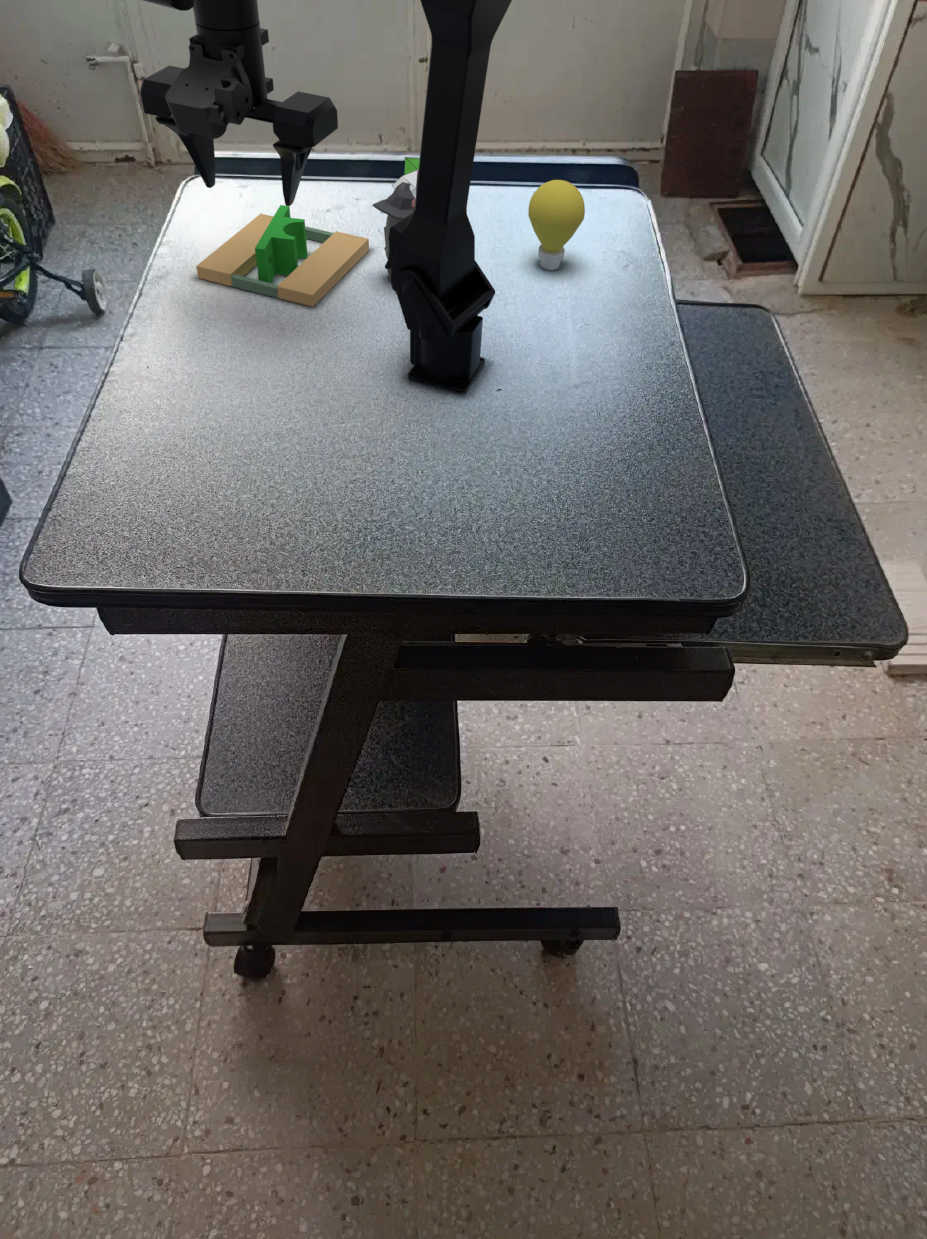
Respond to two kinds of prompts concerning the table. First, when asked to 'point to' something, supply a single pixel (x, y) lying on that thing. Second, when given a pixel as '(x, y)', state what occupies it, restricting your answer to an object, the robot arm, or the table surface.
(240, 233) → the square wooden frame
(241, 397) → the table surface
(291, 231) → the pipe clamp
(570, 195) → the light bulb
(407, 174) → the geometric puzzle
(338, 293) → the table surface
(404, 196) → the wizard figurine
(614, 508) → the table surface
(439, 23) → the robot arm
